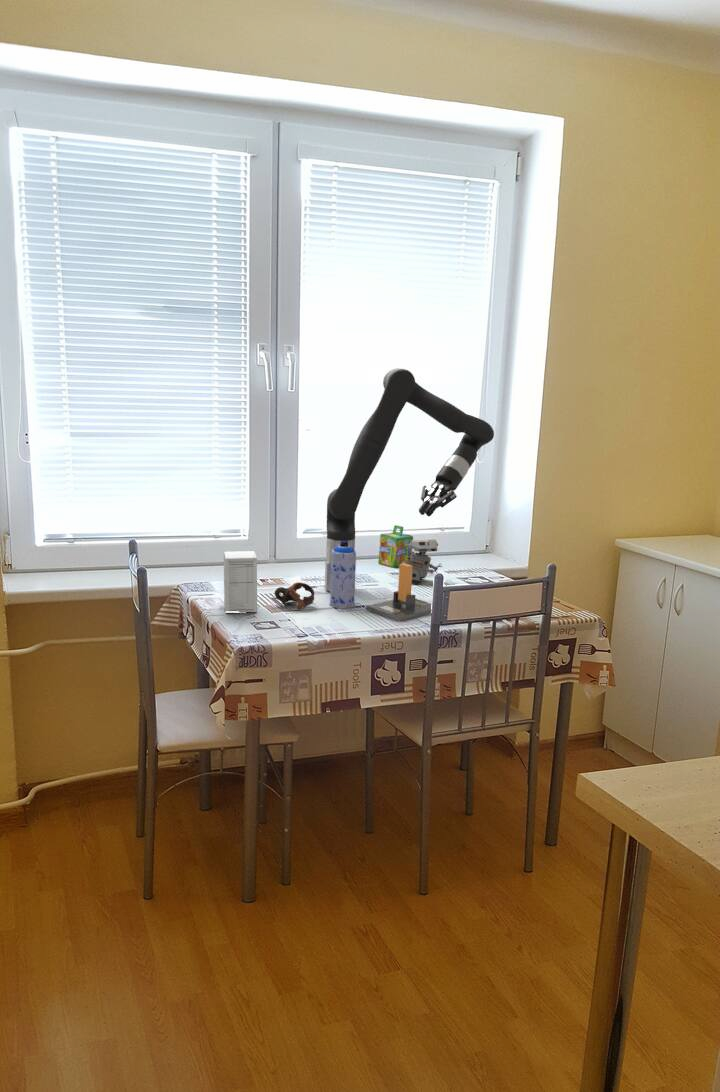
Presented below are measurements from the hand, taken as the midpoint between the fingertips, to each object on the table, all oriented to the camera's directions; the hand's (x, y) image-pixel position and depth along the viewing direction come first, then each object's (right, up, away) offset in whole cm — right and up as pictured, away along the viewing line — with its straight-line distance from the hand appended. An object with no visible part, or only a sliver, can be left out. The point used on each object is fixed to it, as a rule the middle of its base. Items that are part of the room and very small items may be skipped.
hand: (424, 513), depth 251 cm
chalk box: (-7, -17, +54) cm, 57 cm away
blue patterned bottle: (-25, -28, -2) cm, 38 cm away
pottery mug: (-40, -29, -6) cm, 49 cm away
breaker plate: (-7, -30, -7) cm, 31 cm away
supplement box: (-56, -29, -11) cm, 64 cm away
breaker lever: (-7, -27, -7) cm, 28 cm away
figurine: (+2, -23, +29) cm, 37 cm away
